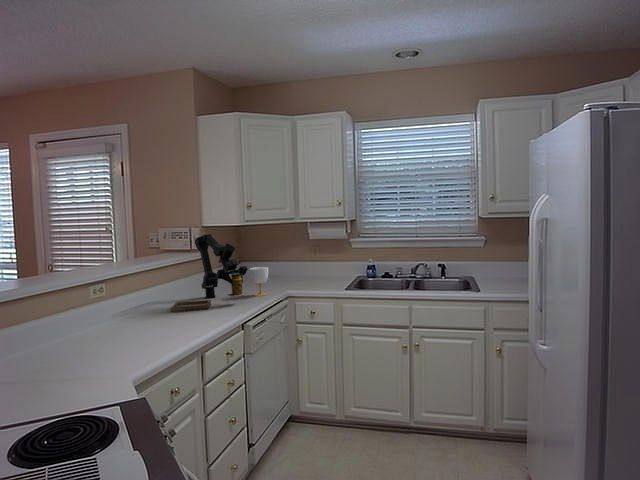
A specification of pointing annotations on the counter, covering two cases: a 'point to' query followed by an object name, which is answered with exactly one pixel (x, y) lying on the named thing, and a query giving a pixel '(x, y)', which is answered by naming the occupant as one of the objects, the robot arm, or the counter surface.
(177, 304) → the tray
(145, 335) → the counter surface
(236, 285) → the condiment
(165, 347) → the counter surface
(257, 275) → the cup
